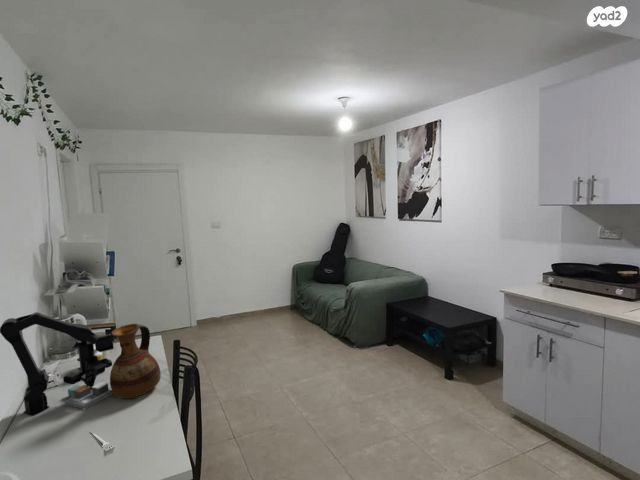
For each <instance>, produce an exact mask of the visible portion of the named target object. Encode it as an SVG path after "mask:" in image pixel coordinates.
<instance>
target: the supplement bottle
mask: <svg viewBox="0 0 640 480" xmlns="http://www.w3.org/2000/svg"><path fill="white" fill-rule="evenodd" d="M94 354H95V356H97V358H98V360H101V359H103V355H102V352H98V350H97V351H96V347H95V346H94ZM100 374H102V373H100ZM100 374H99V375H100Z"/></svg>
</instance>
